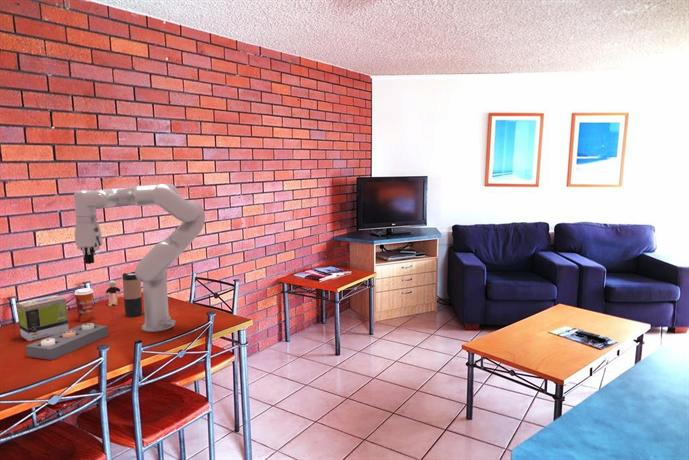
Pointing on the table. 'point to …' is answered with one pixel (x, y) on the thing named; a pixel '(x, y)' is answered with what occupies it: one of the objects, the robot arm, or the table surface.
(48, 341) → the white round knob
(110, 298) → the grandmother figurine
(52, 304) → the tea box
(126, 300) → the travel mug
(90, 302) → the paper cup
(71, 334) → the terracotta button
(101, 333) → the button panel
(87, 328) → the sage button
